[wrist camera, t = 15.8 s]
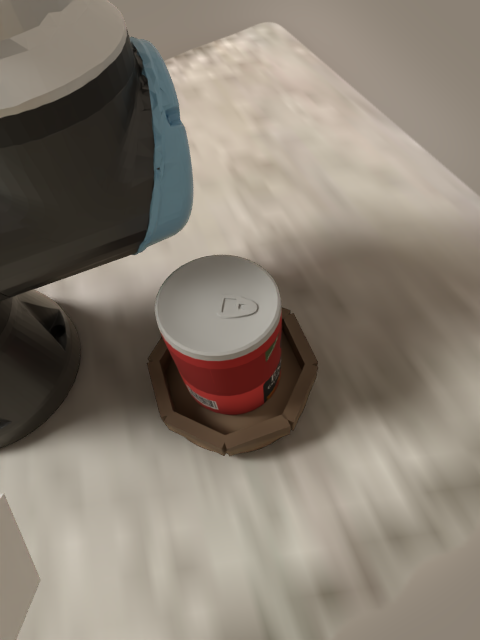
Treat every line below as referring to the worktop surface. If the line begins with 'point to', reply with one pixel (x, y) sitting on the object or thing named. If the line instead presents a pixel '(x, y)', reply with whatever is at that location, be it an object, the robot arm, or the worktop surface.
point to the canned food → (223, 331)
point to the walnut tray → (243, 428)
